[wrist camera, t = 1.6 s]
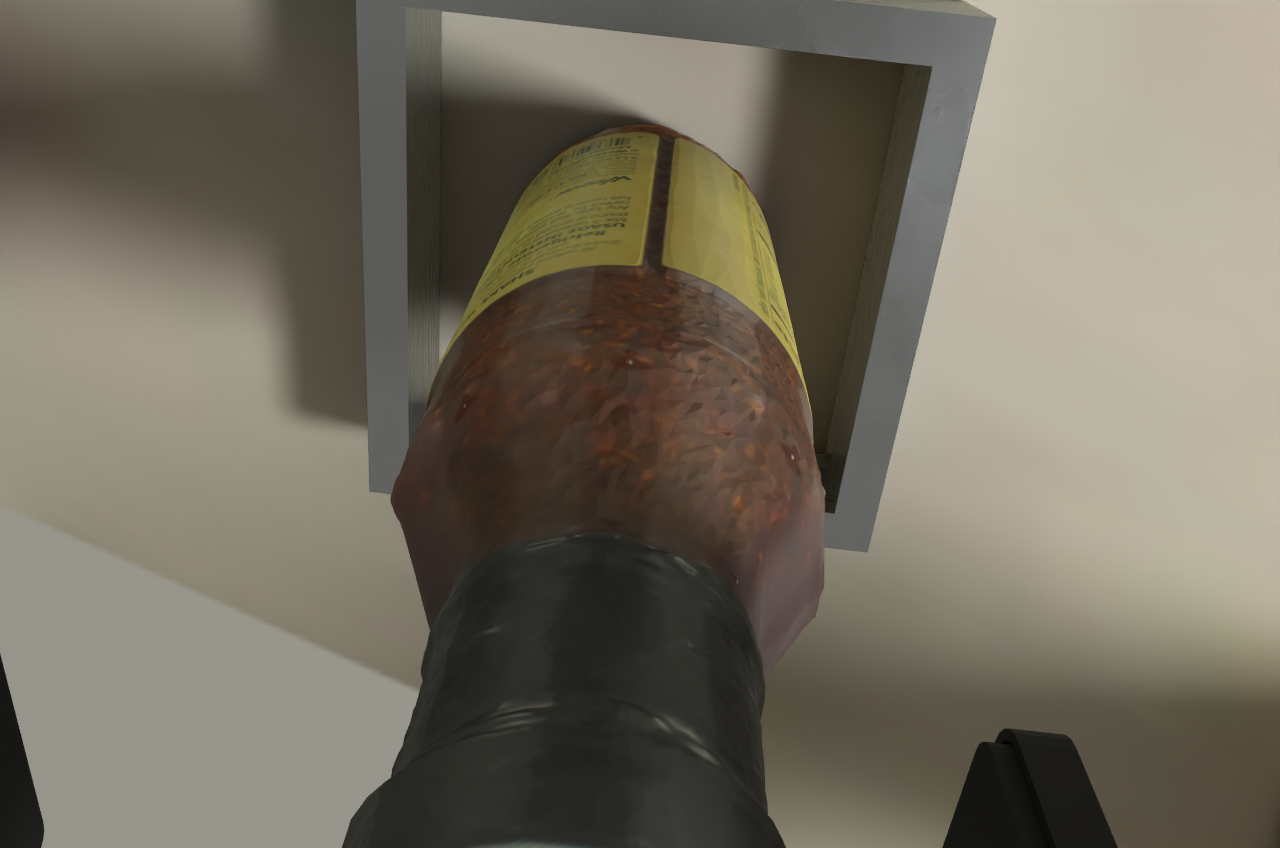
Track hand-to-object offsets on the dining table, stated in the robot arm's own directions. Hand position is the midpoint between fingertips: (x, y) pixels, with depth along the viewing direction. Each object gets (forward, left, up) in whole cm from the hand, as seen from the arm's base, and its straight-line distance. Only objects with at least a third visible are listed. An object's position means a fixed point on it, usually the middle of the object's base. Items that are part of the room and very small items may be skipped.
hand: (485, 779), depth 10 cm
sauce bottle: (-1, 0, -18) cm, 18 cm away
